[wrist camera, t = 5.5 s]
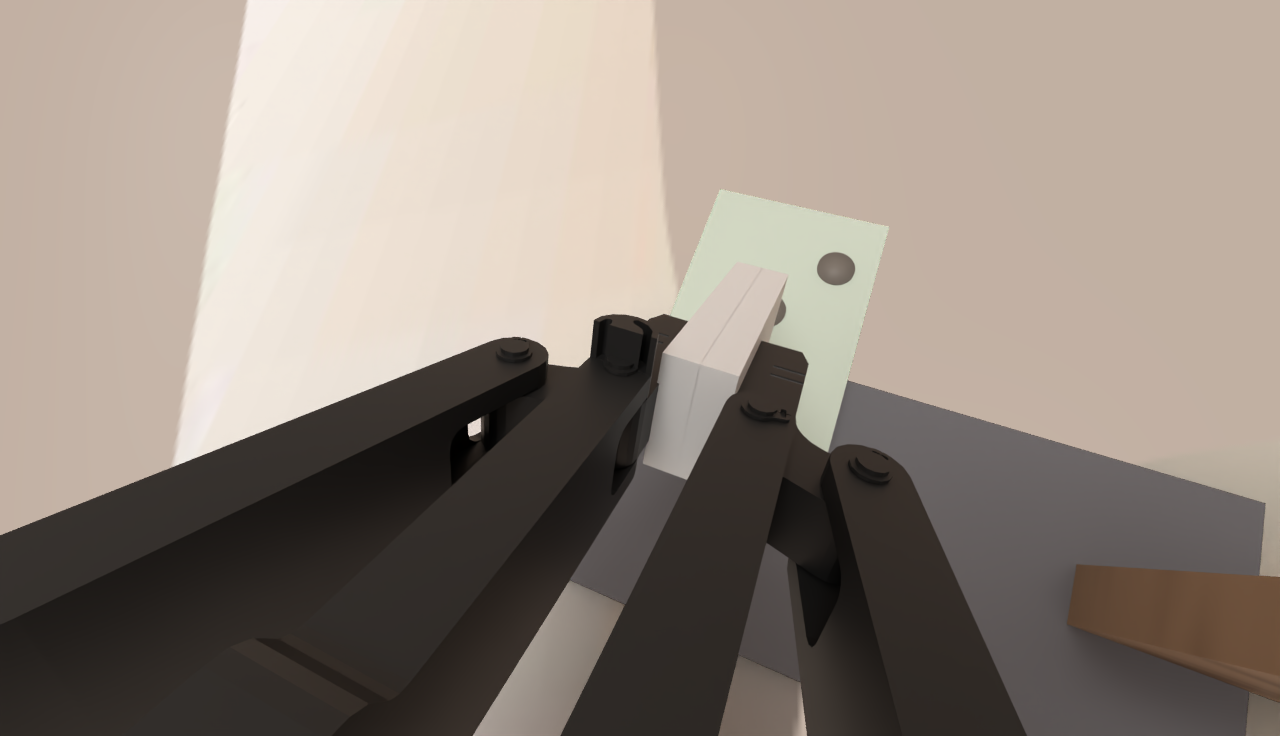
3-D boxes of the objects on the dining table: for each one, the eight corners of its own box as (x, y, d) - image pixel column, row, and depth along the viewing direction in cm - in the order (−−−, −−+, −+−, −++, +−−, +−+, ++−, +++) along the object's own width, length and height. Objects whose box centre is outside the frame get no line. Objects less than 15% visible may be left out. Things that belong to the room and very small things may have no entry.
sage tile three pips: (813, 473, 20) (874, 256, 23) (826, 461, 18) (890, 224, 21) (643, 415, 22) (719, 219, 25) (635, 398, 20) (720, 186, 23)
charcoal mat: (1254, 504, 18) (1265, 503, 18) (1221, 866, 16) (1233, 873, 15) (654, 327, 24) (653, 323, 24) (558, 573, 21) (555, 573, 21)
